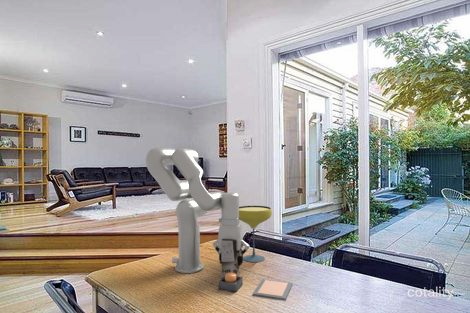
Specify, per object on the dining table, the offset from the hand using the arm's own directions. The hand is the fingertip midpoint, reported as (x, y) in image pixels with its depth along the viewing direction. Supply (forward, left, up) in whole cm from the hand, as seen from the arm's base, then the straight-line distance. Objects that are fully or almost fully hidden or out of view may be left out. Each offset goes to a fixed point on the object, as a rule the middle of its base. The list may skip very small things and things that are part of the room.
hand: (231, 263), depth 127 cm
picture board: (+20, -8, -5) cm, 22 cm away
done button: (+4, -11, -3) cm, 12 cm away
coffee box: (0, 0, -5) cm, 5 cm away
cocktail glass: (+3, +24, -5) cm, 25 cm away
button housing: (+4, -11, -5) cm, 13 cm away
